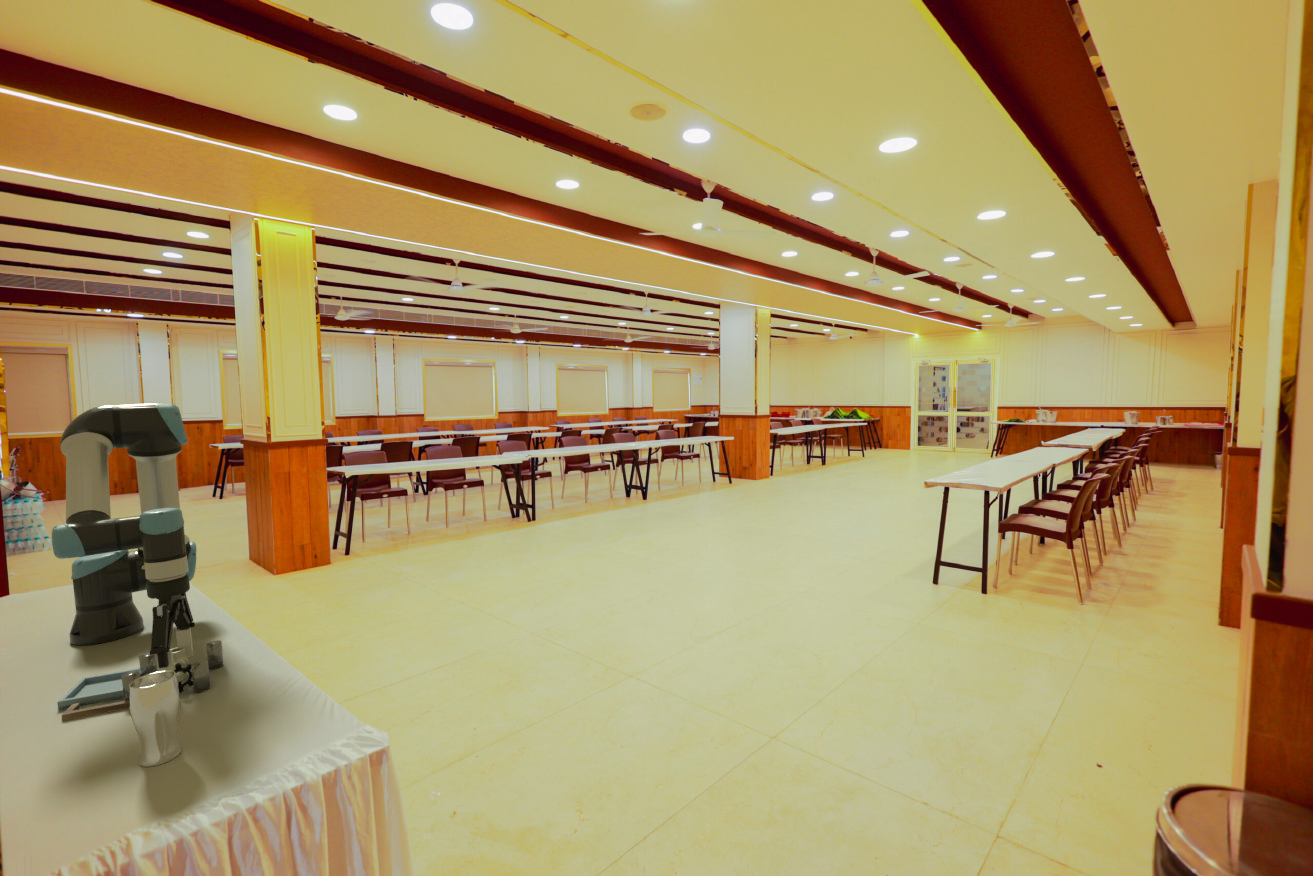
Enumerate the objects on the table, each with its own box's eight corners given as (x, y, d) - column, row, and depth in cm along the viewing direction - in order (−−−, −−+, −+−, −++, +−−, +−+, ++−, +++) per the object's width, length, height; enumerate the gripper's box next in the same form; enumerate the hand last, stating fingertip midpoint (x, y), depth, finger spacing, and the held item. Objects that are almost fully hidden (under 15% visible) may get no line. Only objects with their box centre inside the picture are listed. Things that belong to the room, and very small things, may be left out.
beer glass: (155, 746, 113) (147, 671, 112) (193, 744, 114) (186, 668, 112) (125, 770, 106) (116, 690, 105) (167, 767, 107) (159, 687, 105)
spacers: (153, 667, 146) (150, 643, 145) (229, 654, 152) (227, 631, 151) (120, 707, 127) (117, 680, 127) (208, 690, 134) (205, 665, 133)
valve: (159, 678, 140) (161, 698, 131) (157, 651, 139) (159, 669, 130) (194, 669, 144) (199, 687, 135) (192, 643, 144) (196, 659, 135)
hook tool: (72, 709, 127) (72, 704, 127) (155, 694, 133) (154, 689, 132) (62, 720, 123) (61, 715, 123) (147, 704, 128) (147, 699, 128)
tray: (83, 685, 137) (82, 677, 137) (146, 674, 142) (146, 667, 142) (58, 710, 127) (57, 702, 127) (127, 697, 132) (126, 689, 131)
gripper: (165, 566, 145) (174, 651, 146) (124, 595, 122) (134, 695, 123) (203, 561, 148) (211, 644, 149) (169, 589, 125) (179, 687, 127)
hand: (176, 668), depth 136 cm, fingers open, 13 cm apart
